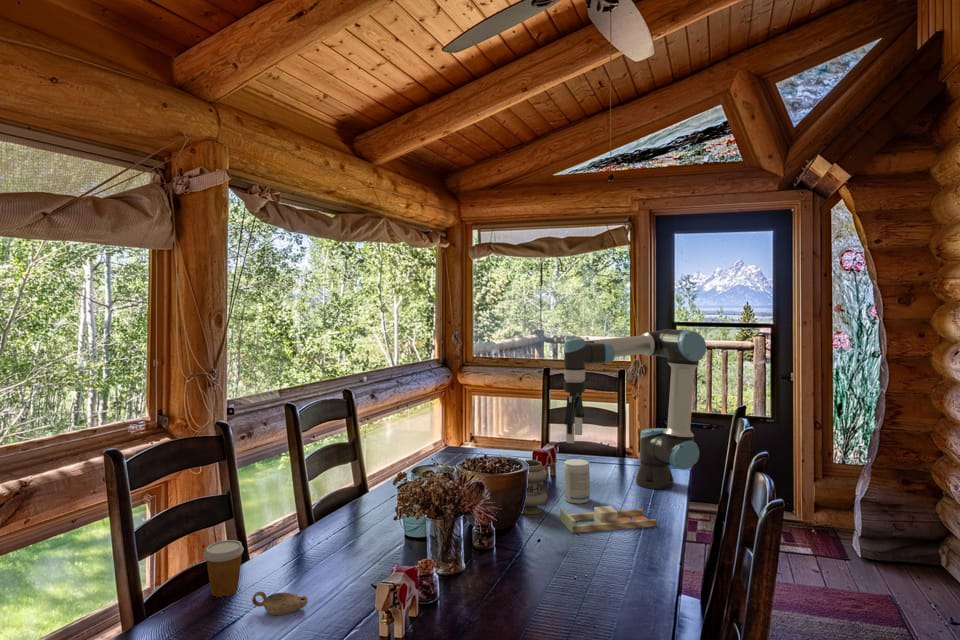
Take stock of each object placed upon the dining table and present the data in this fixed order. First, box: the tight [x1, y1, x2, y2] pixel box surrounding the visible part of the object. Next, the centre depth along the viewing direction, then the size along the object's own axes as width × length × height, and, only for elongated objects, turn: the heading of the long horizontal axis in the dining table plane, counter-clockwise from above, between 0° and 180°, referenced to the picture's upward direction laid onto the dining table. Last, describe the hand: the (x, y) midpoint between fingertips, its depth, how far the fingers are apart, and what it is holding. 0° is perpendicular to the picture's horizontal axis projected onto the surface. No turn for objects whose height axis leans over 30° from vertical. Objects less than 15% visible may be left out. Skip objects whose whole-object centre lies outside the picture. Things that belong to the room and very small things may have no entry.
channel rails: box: [568, 508, 658, 534], centre depth 206 cm, size 30×11×2 cm, turn 101°
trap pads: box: [617, 514, 649, 522], centre depth 208 cm, size 11×8×1 cm
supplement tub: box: [563, 458, 591, 505], centre depth 230 cm, size 10×10×15 cm
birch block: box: [593, 505, 618, 524], centre depth 205 cm, size 6×6×5 cm
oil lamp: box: [251, 590, 309, 616], centre depth 147 cm, size 13×8×5 cm, turn 92°
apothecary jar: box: [521, 459, 548, 518], centre depth 217 cm, size 12×12×18 cm
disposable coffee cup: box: [203, 539, 244, 598], centre depth 157 cm, size 10×10×12 cm
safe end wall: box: [559, 508, 576, 534], centre depth 203 cm, size 1×11×4 cm, turn 11°
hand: (574, 438), depth 220 cm, fingers open, 13 cm apart
